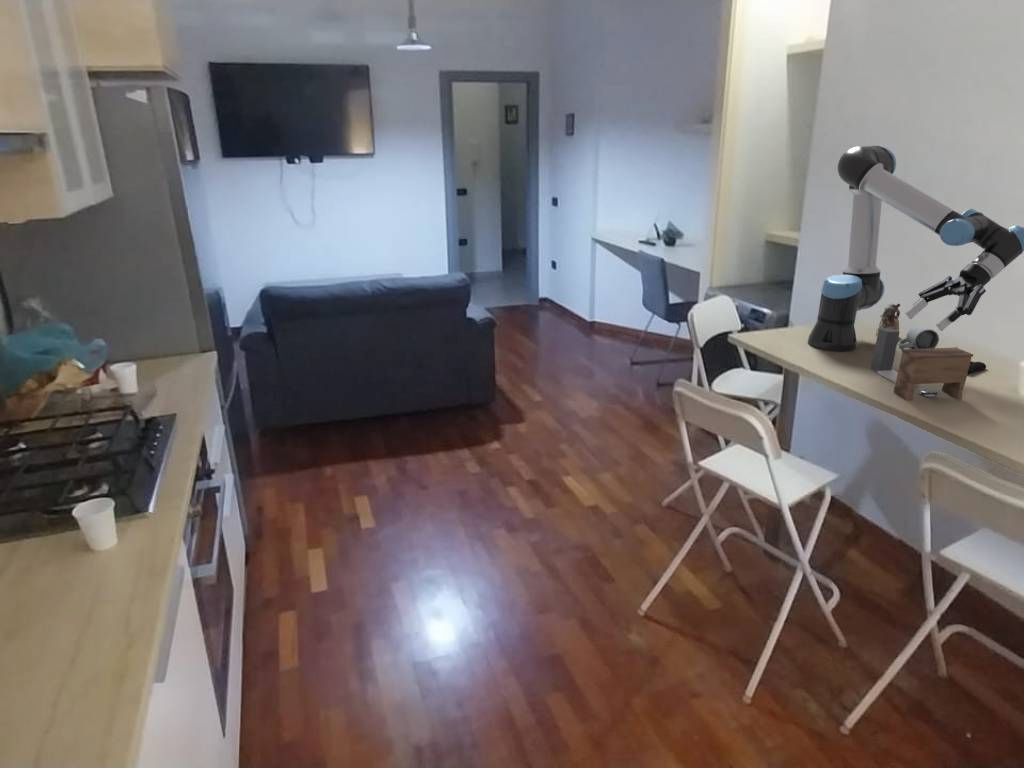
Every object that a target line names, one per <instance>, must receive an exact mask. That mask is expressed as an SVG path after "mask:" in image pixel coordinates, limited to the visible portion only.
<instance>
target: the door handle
mask: <svg viewBox="0 0 1024 768" xmlns="http://www.w3.org/2000/svg"><path fill="white" fill-rule="evenodd" d="M986 368H987V365H986V364H985V363H984V362H982V361H972V360H971V361H970V365H969V369H968V373H967V375H969V374H971V373H973V372H978V370H979V371H982V370H986Z"/></svg>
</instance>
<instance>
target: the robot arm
mask: <svg viewBox="0 0 1024 768" xmlns="http://www.w3.org/2000/svg"><path fill="white" fill-rule="evenodd" d="M896 166H897V160H896V157H895V155H894V153H893V151H891V149H889V148H887V147H885V146H881V145H870V146H869V145H868V146H867V145H866V146H864V145H860V146H859V145H858V146H854V147H851V148H849V149H848V150H846V151H844V153H843V154H842V155H841V156H840V157H839V160H838V163H837V172H838V176H839V178H840V179H841V180H842V181H843V182H845V183H846V184H848V187H849V188H848V190H849V191H850V192H851V194H852V196H853V198H852V211H851V224H850V234H849V235H850V237H849V250H848V264H847V266H846V267H845V268H844V269H843V270H842V273H841V274H834V275H830V276H827V277H826V278H825V279H824V281H823V284H822V287H821V294H820V299H819V306H818V312H817V319H816V322H815V323H814V326H813V327H812V329H811V331H810V332H809V335H808V338H807V339H808V340H807V344H809V345H810V346H812V347H814V348H817V349H822V350H826V351H833V352H847V351H848V352H850V351H852V350H855V349H856V348H857V343H858V341H857V335H856V330H855V324H856V323H855V321H856V318H857V317H856V316H857V314H858V313H857V312H859V311H861V310H866V309H870V308H872V307H873V306H874V305H877V304H878V303H879V302H880V301H881V300H882V298H883V296H884V293H885V283H884V281H883V280H882V279H881V270H880V268H878V266H877V258H878V246H879V237H880V236H879V235H880V223H881V213H882V212H881V211H882V202H884V203H886V204H887V205H889V206H891V207H892V208H894V209H895V210H897V211H899V212H901V213H902V214H904V215H905V216H907V217H909V218H911V219H912V220H914V221H915V222H917V223H919V225H922V226H923V227H925V228H926V229H928V230H930V231H932V232H933V233H935V234H936V235H938V236H939V238H940V240H941V242H942V243H944V244H945V245H948V246H953V247H958V246H964V245H966V244H971V243H974V244H975V245H976V246H978V247H980V248H981V249H983V251H982V252H981V253H980V254H978V256H977V257H975V258H974V259H973V260H971V262H970V263H968V264H967V265H966V266H965V267H963V269H961V270H960V271H959V274H958V275H959V276H957V277H956V278H953V277H952V275H948V276H947V277H945V278H944V279H942V280H941V281H939V282H937V283H935V284H934V285H931V286H930V287H927V288H926V289H924V290H922V291H920V292H919V293H918V296H919V297H920V298H919V299H918V300H917V301H916V302H915V303H913V304H912V306H910V307H909V309H908V310H907V311H905V312H904V314H905V315H906V316H907V317H908V319H909V320H912V319H913V318H914V317H916V316H917V314H919V313H920V312H921V311H922V310H923V309H924V308H926V307H927V306H928V304H929V303H930V302H933V301H934V300H935V301H936V300H938V299H940V298H944V297H946V296H953V295H954V296H958V297H959V298H958V302H957V306H956V307H955V308H952V309H951V310H950V311H949V312H948V313H946V315H944V316H943V317H942V318H941V319H940V320H939V321H937V322H936V323H935V326H936V327H937V328H938V329H939V331H941V332H943V331H944V330H945V329H946V328H947V327H949V326H950V325H951V324H952V323H954V322H955V321H957V320H958V319H959V318H960V317H962V316H964V315H967V316H970V315H971V316H972V314H973V312H974V311H975V309H976V306H977V305H978V302H980V299H981V297H982V296H983V295H984V294H985V292H986V291H987V290H986V288H985V286H986V285H987V284H988V283H989V282H990V281H991V280H992V279H994V278H995V277H996V276H998V275H999V273H1001V272H1002V271H1003V270H1004V269H1005V268H1006V267H1007V266H1009V265H1010V264H1011V263H1012V262H1013V261H1014V260H1016V259H1017V258H1018V257H1019V256H1020V255H1022V254H1023V253H1024V227H1023V226H1020V225H1014V224H1013V225H1012V226H1010V227H1008V228H1006V227H1003V226H1002V225H1000V224H999V223H997V222H996V221H994V220H992V219H991V218H989V217H988V216H987V215H984V214H983V213H982V212H980V211H977V210H976V209H974V208H968V209H966V210H965V211H963V212H962V213H959V212H958V211H955V210H954V209H953V208H950V207H949V206H948V205H945V204H943V203H942V202H940V201H939V200H937V199H936V198H934V197H932V196H930V195H928V194H927V193H925V192H924V191H922V190H921V189H918V188H917V187H915V186H913V185H911V184H910V183H908V182H907V181H905V180H903V179H902V178H900V177H898V176H896V175H894V173H895V170H896Z"/></svg>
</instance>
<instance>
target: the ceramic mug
mask: <svg viewBox="0 0 1024 768" xmlns="http://www.w3.org/2000/svg"><path fill="white" fill-rule="evenodd" d="M939 337H940V336H939V333H937V331H936V330H933V329H931V328H929V327H926V326H923V325H922V326H921V325H916V326H913V327H911V328H910V329H909V330H908V331H907V332H906V337H905V338H903V339H901V340H898V342H897V346H898V348H900V349H911V348H914V349H927V348H937V347H938V344H939V341H940V338H939Z"/></svg>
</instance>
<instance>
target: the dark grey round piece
mask: <svg viewBox="0 0 1024 768" xmlns="http://www.w3.org/2000/svg"><path fill="white" fill-rule="evenodd" d="M917 394H918V396H921V397H923V398H929V399H934V398H937V395H938V392H936V391H935V390H932V389H926V388H921V389H919V390H918V391H917Z"/></svg>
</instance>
